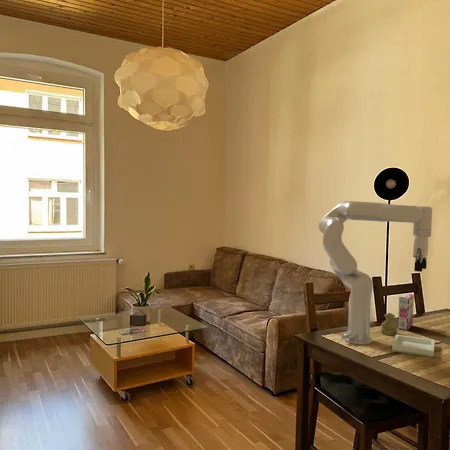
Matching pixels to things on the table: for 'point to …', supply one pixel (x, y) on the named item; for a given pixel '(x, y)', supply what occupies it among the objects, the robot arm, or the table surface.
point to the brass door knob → (389, 325)
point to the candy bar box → (405, 311)
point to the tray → (413, 346)
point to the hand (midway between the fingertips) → (420, 269)
